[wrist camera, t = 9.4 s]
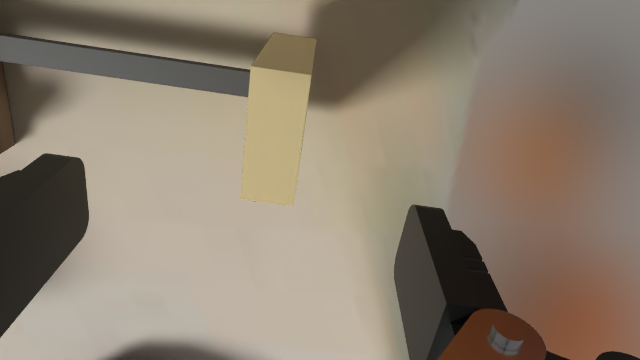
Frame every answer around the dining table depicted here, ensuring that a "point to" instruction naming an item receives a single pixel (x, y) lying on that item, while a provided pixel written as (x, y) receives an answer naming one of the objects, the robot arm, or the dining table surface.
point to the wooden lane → (5, 116)
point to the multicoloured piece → (257, 84)
